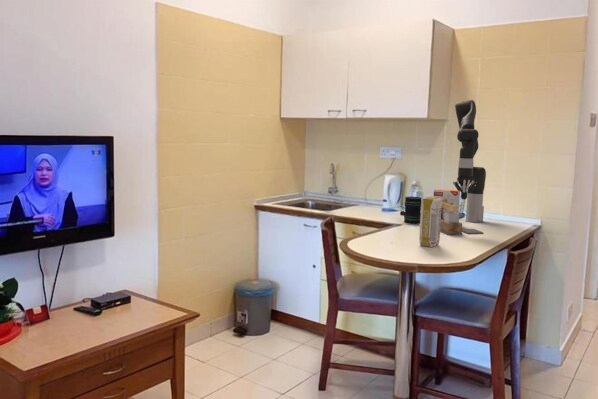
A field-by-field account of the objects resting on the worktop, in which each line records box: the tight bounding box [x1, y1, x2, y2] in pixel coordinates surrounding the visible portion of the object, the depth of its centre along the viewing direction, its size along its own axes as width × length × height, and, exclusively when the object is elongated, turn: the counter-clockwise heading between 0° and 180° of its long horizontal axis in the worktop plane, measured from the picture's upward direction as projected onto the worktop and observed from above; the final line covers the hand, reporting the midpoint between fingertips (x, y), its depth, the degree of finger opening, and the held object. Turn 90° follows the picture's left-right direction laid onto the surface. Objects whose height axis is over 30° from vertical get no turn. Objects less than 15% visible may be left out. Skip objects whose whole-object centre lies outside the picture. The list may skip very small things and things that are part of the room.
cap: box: [444, 212, 460, 223], centre depth 281 cm, size 6×5×5 cm
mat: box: [462, 228, 485, 235], centre depth 285 cm, size 9×10×1 cm
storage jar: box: [403, 196, 423, 225], centre depth 311 cm, size 10×10×15 cm
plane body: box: [440, 217, 464, 236], centre depth 287 cm, size 9×21×6 cm, turn 11°
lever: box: [441, 202, 458, 218], centre depth 286 cm, size 18×4×9 cm, turn 11°
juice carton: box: [418, 195, 442, 248], centre depth 249 cm, size 9×8×24 cm
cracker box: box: [432, 188, 461, 217], centre depth 304 cm, size 14×6×21 cm, turn 62°
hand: (463, 199), depth 280 cm, fingers closed
